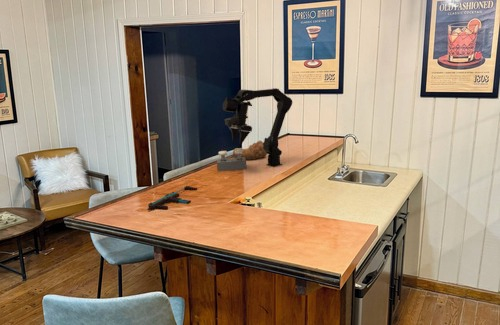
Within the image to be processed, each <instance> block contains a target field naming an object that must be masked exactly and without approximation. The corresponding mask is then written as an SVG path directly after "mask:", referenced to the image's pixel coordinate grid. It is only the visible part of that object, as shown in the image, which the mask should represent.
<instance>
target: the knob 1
mask: <svg viewBox="0 0 500 325" xmlns="http://www.w3.org/2000/svg"><path fill="white" fill-rule="evenodd" d="M227 154H228V152H227V150H221V151H218V156H220V157H221V158H220V159H221V160H222V161H225V159H226V155H227Z"/></svg>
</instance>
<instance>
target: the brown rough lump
mask: <svg viewBox="0 0 500 325" xmlns="http://www.w3.org/2000/svg"><path fill="white" fill-rule="evenodd" d="M263 143H264V141H262V140H258V141H256V142H254V143H252V144H250V145H249V146H248V148H238V147H236V148H234V149H233V151H232V157H233V158H237V154H235V150H243V153H242V154H241V158H242V157H245V158H246V160H248V159H253V160H258V159H260V158H266V157H267V156H268V154H267V153H266V151H265V150H264V148H263Z"/></svg>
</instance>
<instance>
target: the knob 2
mask: <svg viewBox="0 0 500 325" xmlns="http://www.w3.org/2000/svg"><path fill="white" fill-rule="evenodd" d="M242 153H243V150H235V154H237V158H238V160H241V154H242Z"/></svg>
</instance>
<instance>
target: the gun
mask: <svg viewBox="0 0 500 325" xmlns="http://www.w3.org/2000/svg"><path fill="white" fill-rule="evenodd" d="M182 190H184V191H197V190H198V187H195V186H194V187H193V186H189V185H186V186H184V187H182V188H181V189H179V190H177V191H175V192H174V191H172V192H170V193H168V194H165V195H164V196H163V197H161V198H159V199H157V200H155V201H154V202H150V203H148V204H147V205H148V206H147V207H148V208H147V211H150V210H152V209H154V210H155V208H156V209H161V210H166V211H167V210H169V206H168V205H167V204H170V203H176V204H179V203H180V204H184V205H185V204H186V205H189V204H191V202H192V200H188V199H182V198H180V193H178V192H180V191H182Z"/></svg>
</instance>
